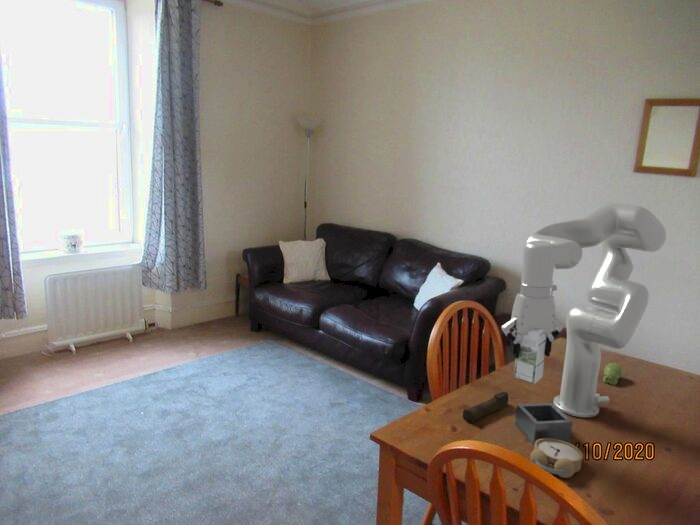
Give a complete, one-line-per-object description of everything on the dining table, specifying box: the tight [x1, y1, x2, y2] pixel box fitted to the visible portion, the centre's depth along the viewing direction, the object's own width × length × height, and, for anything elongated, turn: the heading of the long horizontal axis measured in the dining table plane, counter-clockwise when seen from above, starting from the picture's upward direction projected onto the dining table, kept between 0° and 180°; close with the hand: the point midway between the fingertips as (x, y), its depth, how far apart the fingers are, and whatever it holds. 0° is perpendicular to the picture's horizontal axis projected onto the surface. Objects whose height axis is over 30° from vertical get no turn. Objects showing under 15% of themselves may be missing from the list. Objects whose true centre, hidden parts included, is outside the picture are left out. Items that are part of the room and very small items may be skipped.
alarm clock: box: [530, 438, 584, 479], centre depth 127 cm, size 11×5×15 cm
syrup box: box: [513, 329, 547, 385], centre depth 135 cm, size 6×6×14 cm
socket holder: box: [514, 402, 574, 446], centre depth 140 cm, size 10×10×6 cm
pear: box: [602, 362, 624, 386], centre depth 176 cm, size 6×5×10 cm
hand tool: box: [462, 391, 509, 424], centre depth 150 cm, size 19×4×5 cm, turn 126°
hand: (530, 354), depth 135 cm, fingers closed on syrup box, 7 cm apart
